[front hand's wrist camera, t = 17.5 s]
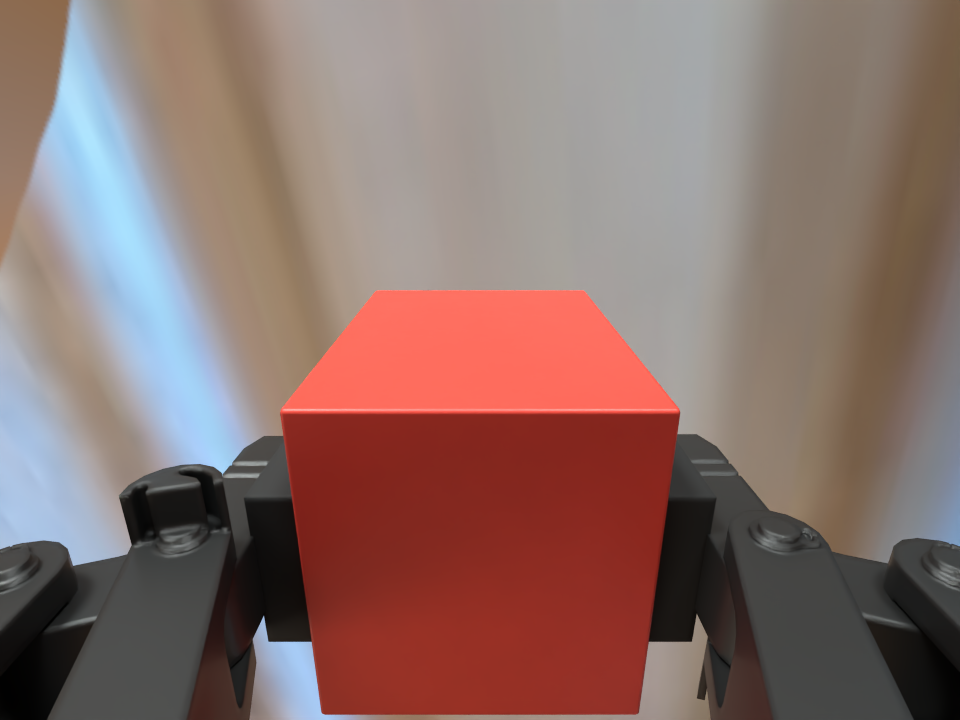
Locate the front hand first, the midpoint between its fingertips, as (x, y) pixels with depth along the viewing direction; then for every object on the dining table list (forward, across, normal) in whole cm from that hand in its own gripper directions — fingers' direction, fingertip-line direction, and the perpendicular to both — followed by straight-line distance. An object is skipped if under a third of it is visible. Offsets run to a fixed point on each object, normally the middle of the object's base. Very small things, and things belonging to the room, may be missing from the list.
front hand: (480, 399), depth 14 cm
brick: (0, 0, 0) cm, 0 cm away
